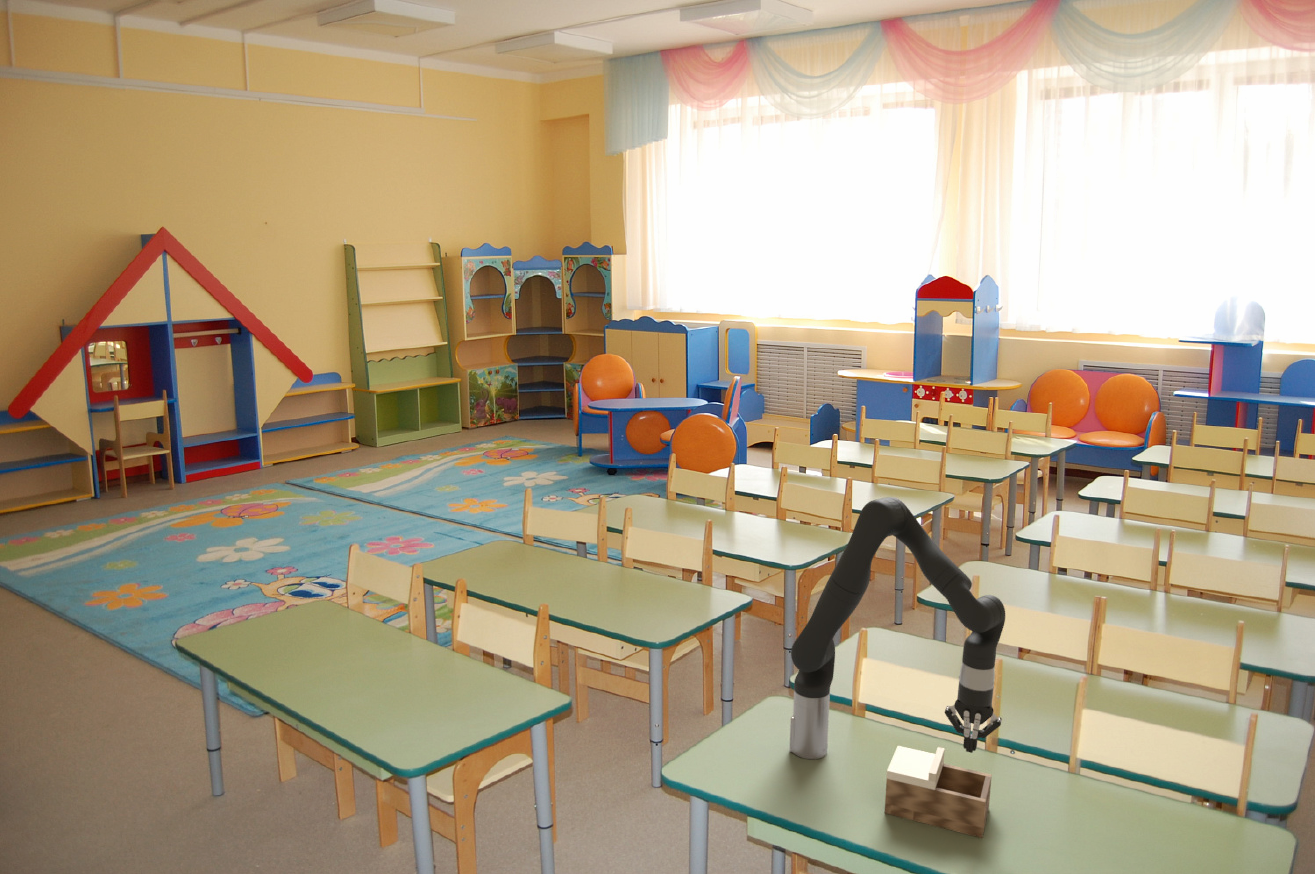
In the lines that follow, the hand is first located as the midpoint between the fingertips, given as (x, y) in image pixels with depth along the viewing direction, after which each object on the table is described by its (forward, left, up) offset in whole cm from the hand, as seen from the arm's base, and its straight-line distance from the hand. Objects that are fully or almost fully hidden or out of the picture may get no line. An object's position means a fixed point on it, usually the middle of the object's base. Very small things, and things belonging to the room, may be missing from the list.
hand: (969, 750), depth 221 cm
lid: (-12, -1, -8) cm, 14 cm away
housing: (-6, -1, -17) cm, 18 cm away
